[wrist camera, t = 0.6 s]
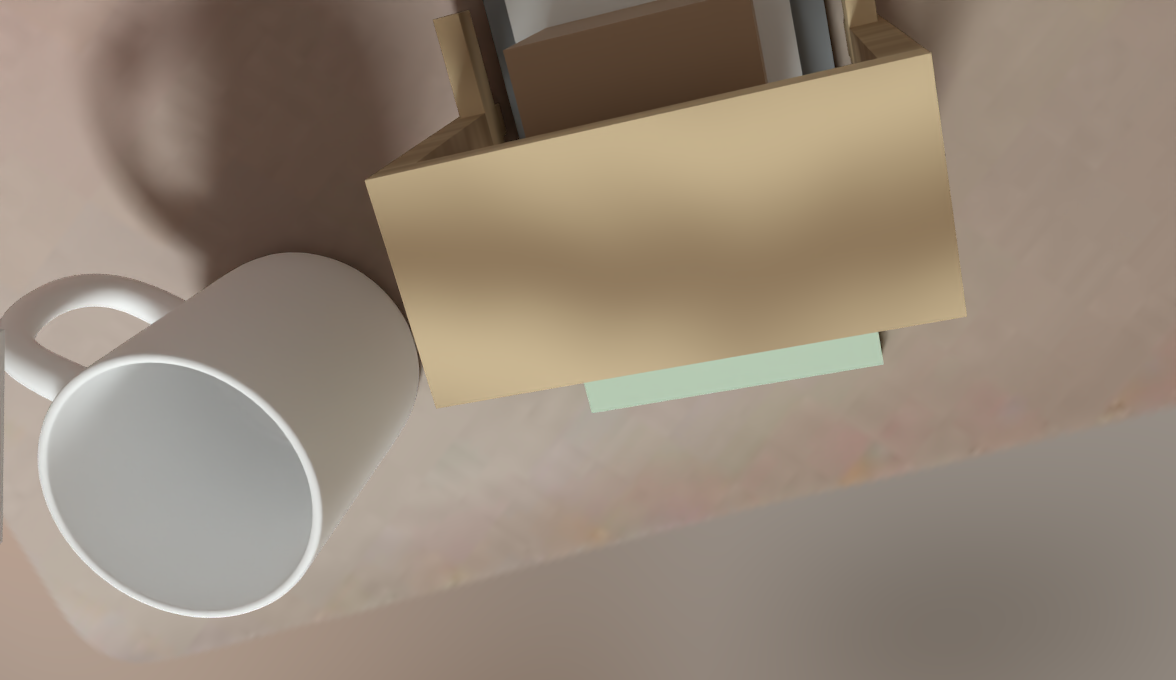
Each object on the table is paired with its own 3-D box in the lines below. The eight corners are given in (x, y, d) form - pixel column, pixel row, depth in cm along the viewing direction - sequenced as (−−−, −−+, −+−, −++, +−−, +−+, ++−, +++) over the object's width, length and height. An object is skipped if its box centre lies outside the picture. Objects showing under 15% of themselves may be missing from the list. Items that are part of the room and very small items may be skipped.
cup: (368, 495, 41) (256, 666, 32) (85, 339, 40) (-116, 466, 31) (463, 321, 38) (369, 453, 28) (158, 148, 37) (-41, 225, 28)
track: (414, -277, 31) (408, -280, 31) (758, -387, 29) (759, -393, 29) (594, 406, 38) (592, 412, 38) (881, 357, 36) (883, 364, 36)
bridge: (444, 16, 34) (324, 52, 25) (861, -91, 31) (911, -96, 22) (539, 361, 38) (468, 510, 28) (919, 293, 35) (982, 433, 26)
